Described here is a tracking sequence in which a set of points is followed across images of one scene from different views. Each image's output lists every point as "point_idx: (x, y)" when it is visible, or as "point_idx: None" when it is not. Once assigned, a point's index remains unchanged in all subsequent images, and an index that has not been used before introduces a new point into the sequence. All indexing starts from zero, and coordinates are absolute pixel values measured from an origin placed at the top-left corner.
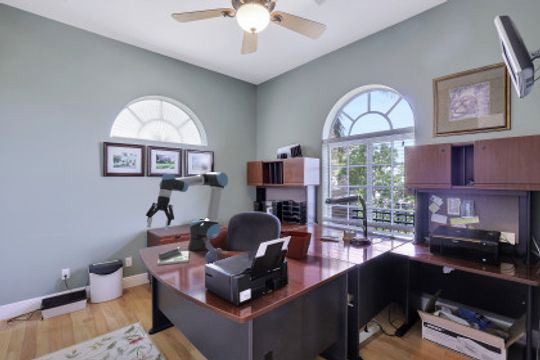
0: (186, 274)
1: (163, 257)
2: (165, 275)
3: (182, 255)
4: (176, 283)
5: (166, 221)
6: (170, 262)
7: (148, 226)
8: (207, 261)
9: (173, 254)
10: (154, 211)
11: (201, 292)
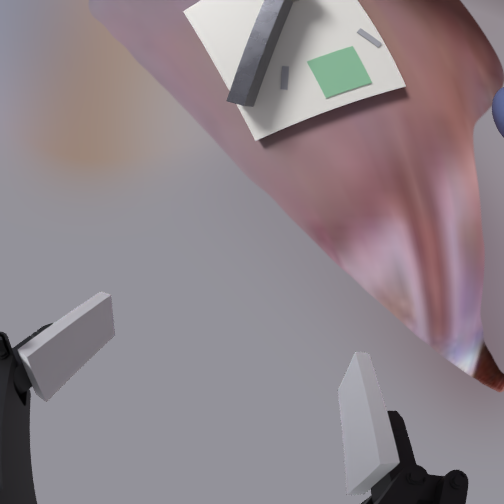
0: (439, 248)
1: (257, 90)
2: (362, 260)
3: (329, 13)
4: (417, 317)
5: (349, 475)
6: (318, 114)
7: (106, 330)
8: (501, 134)
9: (281, 26)
10: (33, 491)
11: (473, 349)
